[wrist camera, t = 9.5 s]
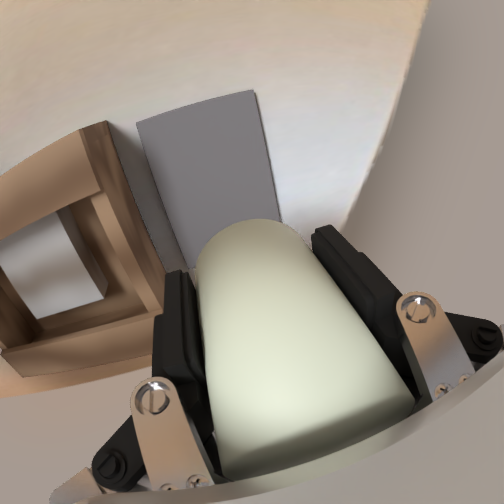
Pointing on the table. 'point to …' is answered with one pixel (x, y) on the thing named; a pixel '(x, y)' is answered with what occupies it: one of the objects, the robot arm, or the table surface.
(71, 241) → the walnut box
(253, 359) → the sage cylinder
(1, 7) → the table surface
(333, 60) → the table surface
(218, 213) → the rubber mat
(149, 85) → the table surface
